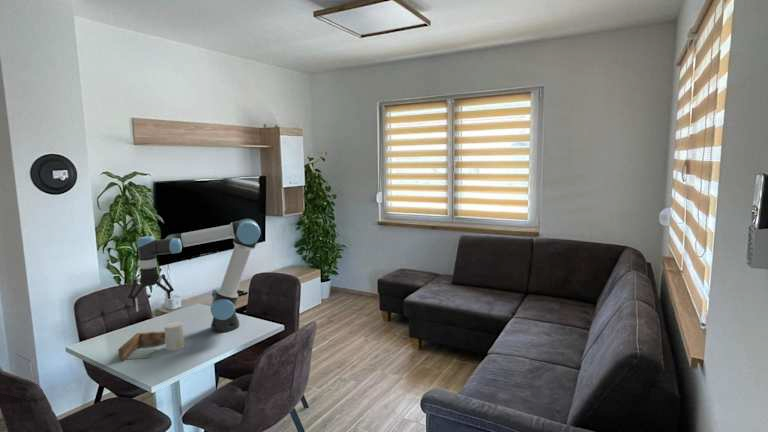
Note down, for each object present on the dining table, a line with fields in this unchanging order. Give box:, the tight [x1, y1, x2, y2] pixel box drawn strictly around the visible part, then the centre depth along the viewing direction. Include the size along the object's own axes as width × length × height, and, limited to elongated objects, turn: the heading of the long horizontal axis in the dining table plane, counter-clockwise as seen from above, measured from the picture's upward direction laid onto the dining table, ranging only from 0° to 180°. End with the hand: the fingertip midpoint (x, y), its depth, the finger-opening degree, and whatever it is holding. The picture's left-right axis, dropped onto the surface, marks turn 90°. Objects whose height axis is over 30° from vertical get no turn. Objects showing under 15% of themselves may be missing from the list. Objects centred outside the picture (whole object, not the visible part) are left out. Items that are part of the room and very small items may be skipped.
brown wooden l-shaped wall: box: [117, 330, 166, 362], centre depth 210 cm, size 14×20×6 cm
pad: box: [126, 348, 158, 360], centre depth 207 cm, size 10×10×1 cm
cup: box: [164, 321, 185, 352], centre depth 213 cm, size 8×8×12 cm
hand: (152, 308), depth 214 cm, fingers open, 13 cm apart
